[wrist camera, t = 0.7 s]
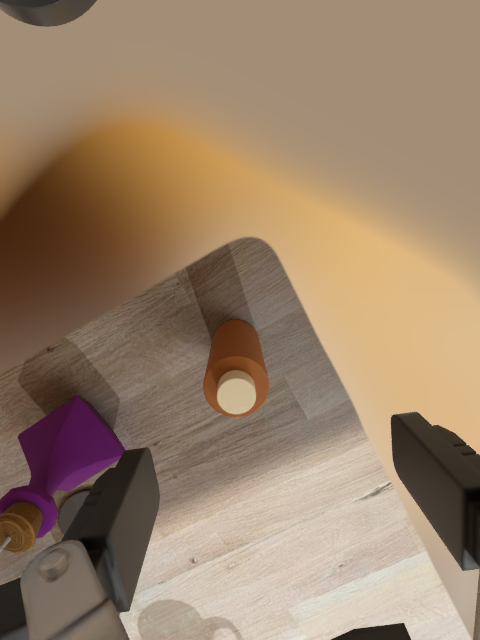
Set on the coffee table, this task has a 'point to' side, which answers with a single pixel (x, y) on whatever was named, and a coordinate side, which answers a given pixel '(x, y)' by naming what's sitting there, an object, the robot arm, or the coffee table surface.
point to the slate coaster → (71, 509)
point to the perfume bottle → (55, 469)
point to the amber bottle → (236, 370)
